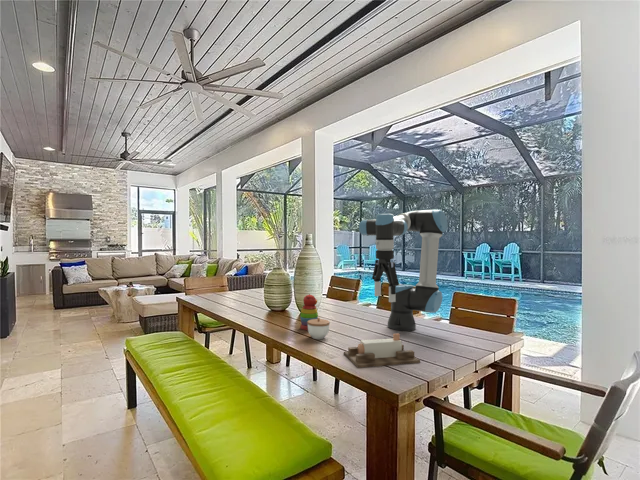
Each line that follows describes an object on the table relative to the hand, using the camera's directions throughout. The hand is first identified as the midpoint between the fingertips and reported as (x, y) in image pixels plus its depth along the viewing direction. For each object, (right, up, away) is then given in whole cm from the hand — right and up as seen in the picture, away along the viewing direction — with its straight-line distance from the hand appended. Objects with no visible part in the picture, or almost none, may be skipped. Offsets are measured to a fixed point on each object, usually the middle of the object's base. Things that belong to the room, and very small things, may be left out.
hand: (384, 298), depth 151 cm
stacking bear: (-34, -22, +35) cm, 53 cm away
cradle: (-4, -22, -10) cm, 25 cm away
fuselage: (-3, -21, -10) cm, 24 cm away
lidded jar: (-29, -22, +18) cm, 40 cm away
